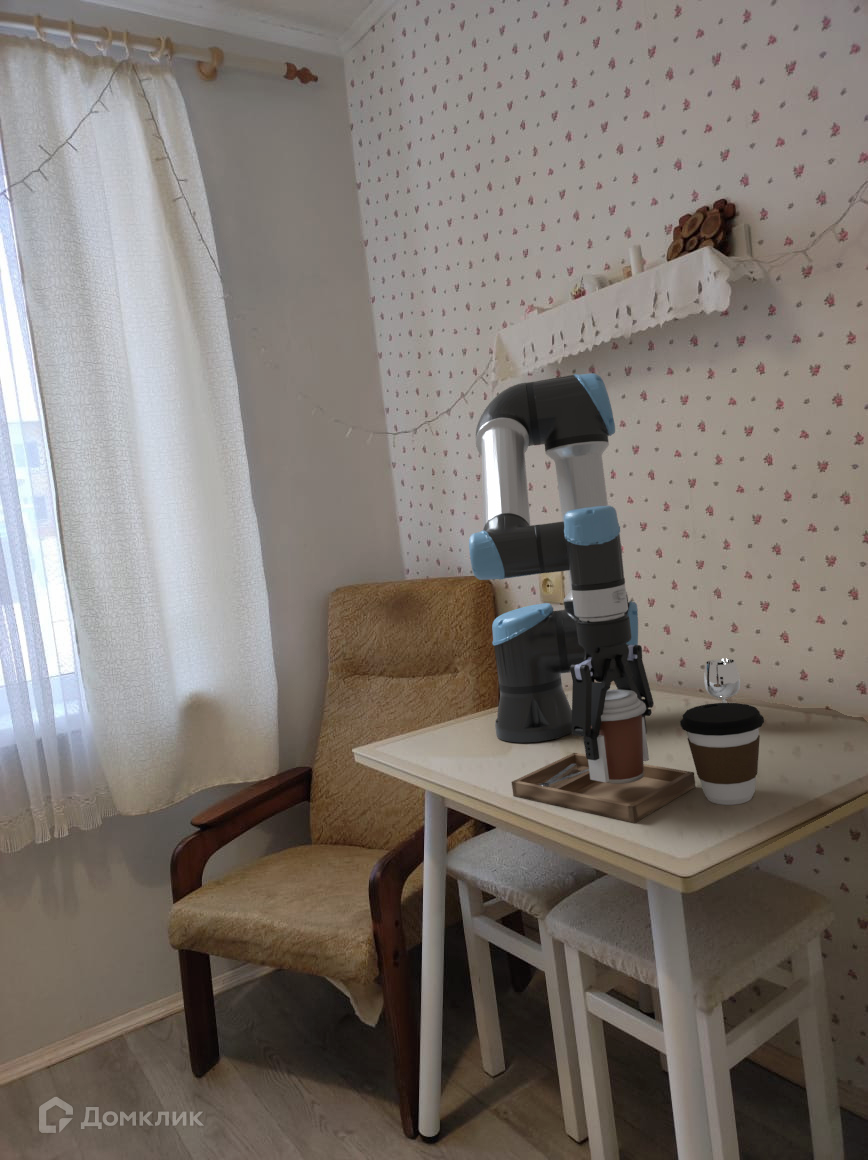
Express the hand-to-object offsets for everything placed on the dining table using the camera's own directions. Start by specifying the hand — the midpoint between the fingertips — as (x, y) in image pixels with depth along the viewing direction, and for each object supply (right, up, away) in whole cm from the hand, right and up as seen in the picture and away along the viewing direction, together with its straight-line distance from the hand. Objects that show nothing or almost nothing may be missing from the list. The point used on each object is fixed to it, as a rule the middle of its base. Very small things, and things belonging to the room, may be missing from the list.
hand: (620, 769), depth 129 cm
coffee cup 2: (+14, -3, -5) cm, 15 cm away
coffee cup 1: (0, -1, 0) cm, 1 cm away
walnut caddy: (-2, -4, +3) cm, 5 cm away
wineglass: (+23, +1, +24) cm, 33 cm away
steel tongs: (-7, -4, +8) cm, 11 cm away
